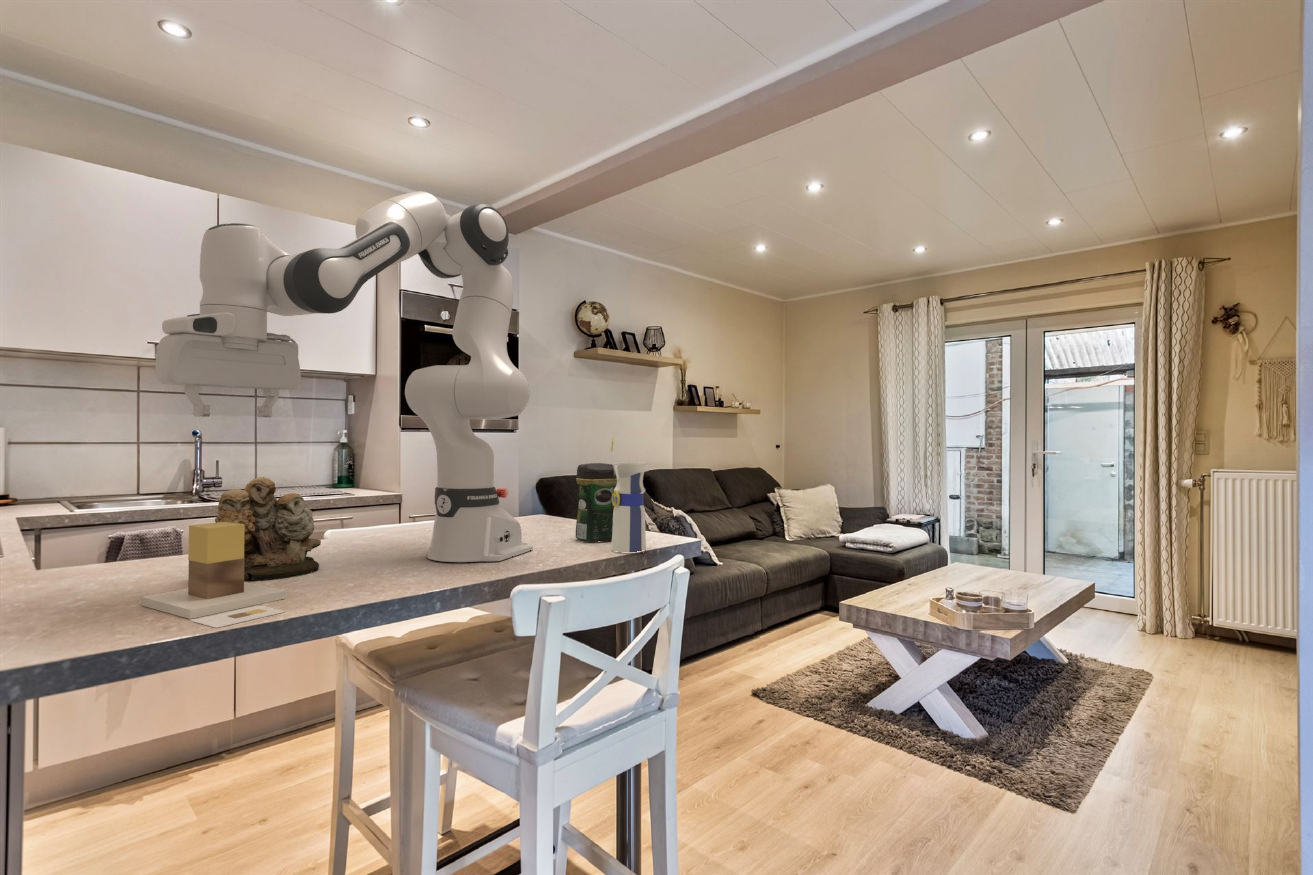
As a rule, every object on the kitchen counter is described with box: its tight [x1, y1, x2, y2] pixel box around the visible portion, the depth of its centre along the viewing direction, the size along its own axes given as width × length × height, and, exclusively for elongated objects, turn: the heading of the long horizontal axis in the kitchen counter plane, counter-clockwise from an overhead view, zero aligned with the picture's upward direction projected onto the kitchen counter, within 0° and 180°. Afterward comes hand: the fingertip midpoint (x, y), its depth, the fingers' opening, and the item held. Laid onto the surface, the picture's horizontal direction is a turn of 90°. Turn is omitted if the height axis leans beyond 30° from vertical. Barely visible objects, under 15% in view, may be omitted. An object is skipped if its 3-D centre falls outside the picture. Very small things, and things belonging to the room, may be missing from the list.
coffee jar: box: [575, 462, 617, 543], centre depth 158 cm, size 10×8×19 cm
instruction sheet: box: [190, 604, 286, 629], centre depth 88 cm, size 9×6×1 cm, turn 152°
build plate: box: [140, 581, 287, 620], centre depth 96 cm, size 13×13×1 cm
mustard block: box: [187, 522, 245, 564], centre depth 96 cm, size 5×5×5 cm
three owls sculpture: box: [214, 476, 322, 582], centre depth 115 cm, size 18×12×17 cm, turn 133°
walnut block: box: [187, 558, 245, 599], centre depth 96 cm, size 5×5×5 cm
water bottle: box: [610, 437, 650, 552], centre depth 144 cm, size 8×9×25 cm
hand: (234, 417), depth 103 cm, fingers open, 8 cm apart
